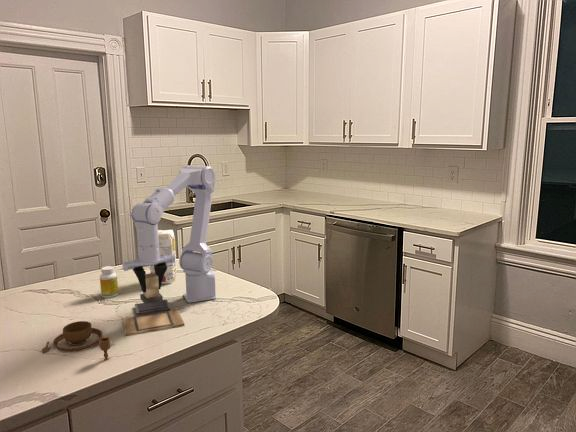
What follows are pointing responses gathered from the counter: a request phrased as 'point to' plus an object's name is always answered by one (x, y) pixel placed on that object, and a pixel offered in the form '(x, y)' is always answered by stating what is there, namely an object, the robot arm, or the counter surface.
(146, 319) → the marked board
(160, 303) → the ink pad
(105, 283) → the supplement bottle
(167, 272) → the juice carton
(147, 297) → the stamp
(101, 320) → the counter surface
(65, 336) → the place setting
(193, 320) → the counter surface
